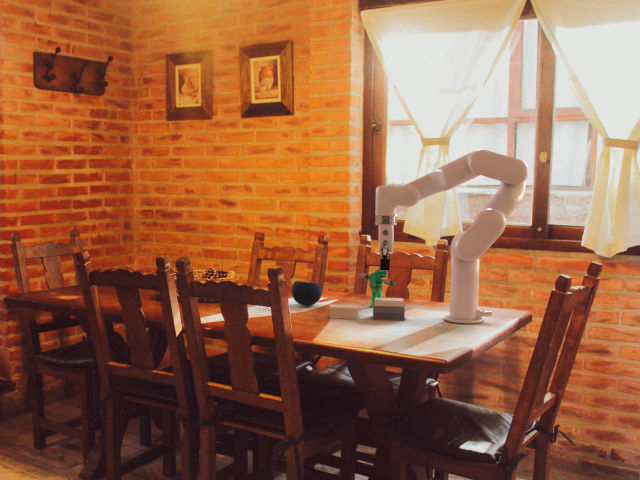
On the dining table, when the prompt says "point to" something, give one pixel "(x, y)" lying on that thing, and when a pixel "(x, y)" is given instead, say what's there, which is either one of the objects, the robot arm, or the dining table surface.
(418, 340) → the dining table surface
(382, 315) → the grey book
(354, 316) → the cream book
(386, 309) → the grey book
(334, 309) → the cream book
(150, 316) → the dining table surface
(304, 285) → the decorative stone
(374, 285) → the toy
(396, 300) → the cream book
